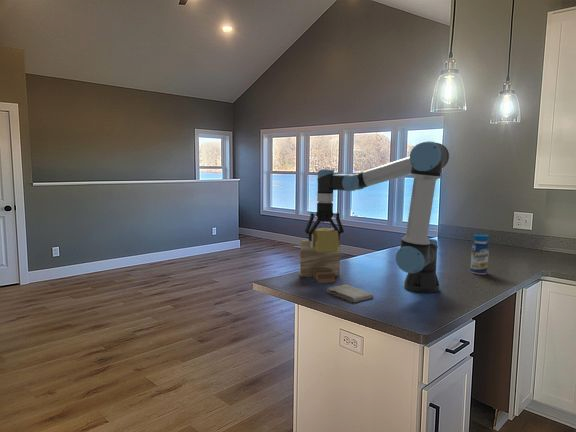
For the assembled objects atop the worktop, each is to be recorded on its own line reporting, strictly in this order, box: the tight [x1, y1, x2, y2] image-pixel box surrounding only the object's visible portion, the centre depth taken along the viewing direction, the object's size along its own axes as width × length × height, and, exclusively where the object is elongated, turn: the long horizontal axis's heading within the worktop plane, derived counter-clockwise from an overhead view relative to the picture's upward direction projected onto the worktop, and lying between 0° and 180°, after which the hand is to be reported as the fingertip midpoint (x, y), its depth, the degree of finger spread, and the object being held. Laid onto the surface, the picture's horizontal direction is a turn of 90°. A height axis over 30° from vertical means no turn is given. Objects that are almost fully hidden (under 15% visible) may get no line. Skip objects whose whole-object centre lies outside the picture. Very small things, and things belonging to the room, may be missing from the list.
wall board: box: [298, 239, 341, 284], centre depth 204 cm, size 16×20×18 cm
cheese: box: [310, 227, 339, 252], centre depth 200 cm, size 10×11×10 cm
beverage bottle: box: [469, 233, 490, 275], centre depth 217 cm, size 8×8×20 cm
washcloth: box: [326, 284, 374, 303], centre depth 178 cm, size 12×18×3 cm, turn 36°
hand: (323, 247), depth 201 cm, fingers closed on cheese, 11 cm apart
